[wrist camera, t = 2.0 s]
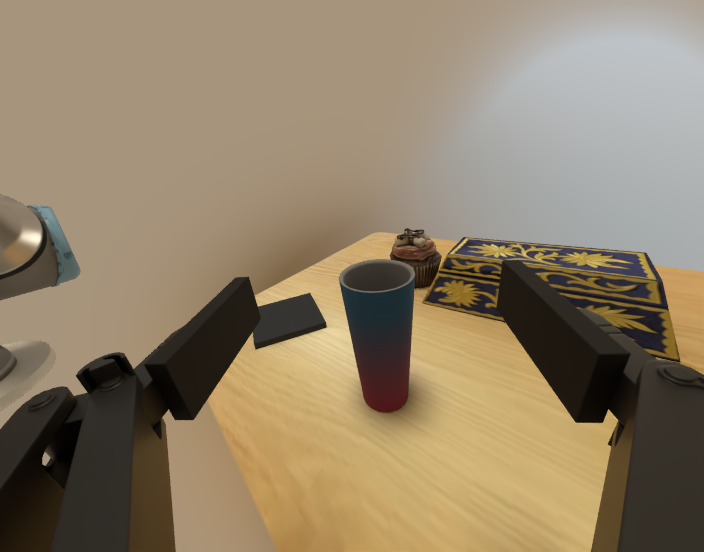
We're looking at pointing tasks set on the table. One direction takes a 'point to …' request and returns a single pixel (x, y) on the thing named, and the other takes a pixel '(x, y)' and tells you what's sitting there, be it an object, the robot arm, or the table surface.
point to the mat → (287, 320)
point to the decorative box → (563, 285)
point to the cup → (380, 328)
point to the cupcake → (417, 255)
